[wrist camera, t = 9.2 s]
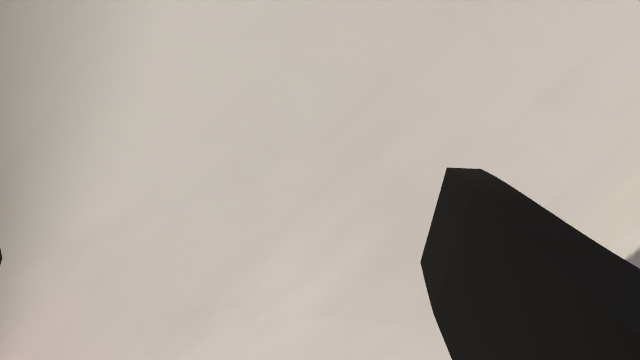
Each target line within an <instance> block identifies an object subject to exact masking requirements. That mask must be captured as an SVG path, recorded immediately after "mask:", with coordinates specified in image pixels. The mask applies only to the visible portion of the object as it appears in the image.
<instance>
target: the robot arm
mask: <svg viewBox="0 0 640 360" xmlns="http://www.w3.org/2000/svg"><path fill="white" fill-rule="evenodd" d="M1 261H2V254H1V250H0V264H1ZM421 266H422V270H423V275H424V279H425V283H426V287H427V291H428V295H429V299H430V302H431V306H432V310H433V313H434V316H435V318H436V321H437V324H438V326H439V329H440V331H441V334H442V336H443V338H444V341H445V343H446V346H447V348H448V351H449V353H450V356H451V358H452V360H640V269H639V268H638V267H636V266H634V265H632V264H631V263H629V262H627V261H626V260H624V259H622V258H621V257H619V256H617V255H616V254H614V253H612V252H611V251H609V250H608V249H606V248H605V247H603V246H601V245H600V244H598V243H597V242H595V241H593V240H592V239H590V238H589V237H587V236H586V235H584V234H583V233H581V232H579V231H578V230H576V229H575V228H573V227H572V226H570V225H569V224H567V223H566V222H564V221H563V220H561V219H560V218H558V217H557V216H555V215H554V214H552V213H551V212H549V211H548V210H546V209H545V208H543V207H542V206H540V205H539V204H537V203H536V202H534V201H533V200H531V199H530V198H528V197H527V196H525V195H524V194H522V193H521V192H519V191H518V190H516V189H514V188H513V187H511V186H510V185H508V184H507V183H505V182H503V181H502V180H500V179H498V178H497V177H495V176H493V175H492V174H490V173H488V172H486V171H484V170H482V169H466V168H447V169H446V173H445V176H444V180H443V183H442V187H441V191H440V194H439V198H438V201H437V205H436V209H435V212H434V216H433V219H432V223H431V226H430V230H429V234H428V237H427V241H426V244H425V248H424V251H423V255H422V259H421Z"/></svg>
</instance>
